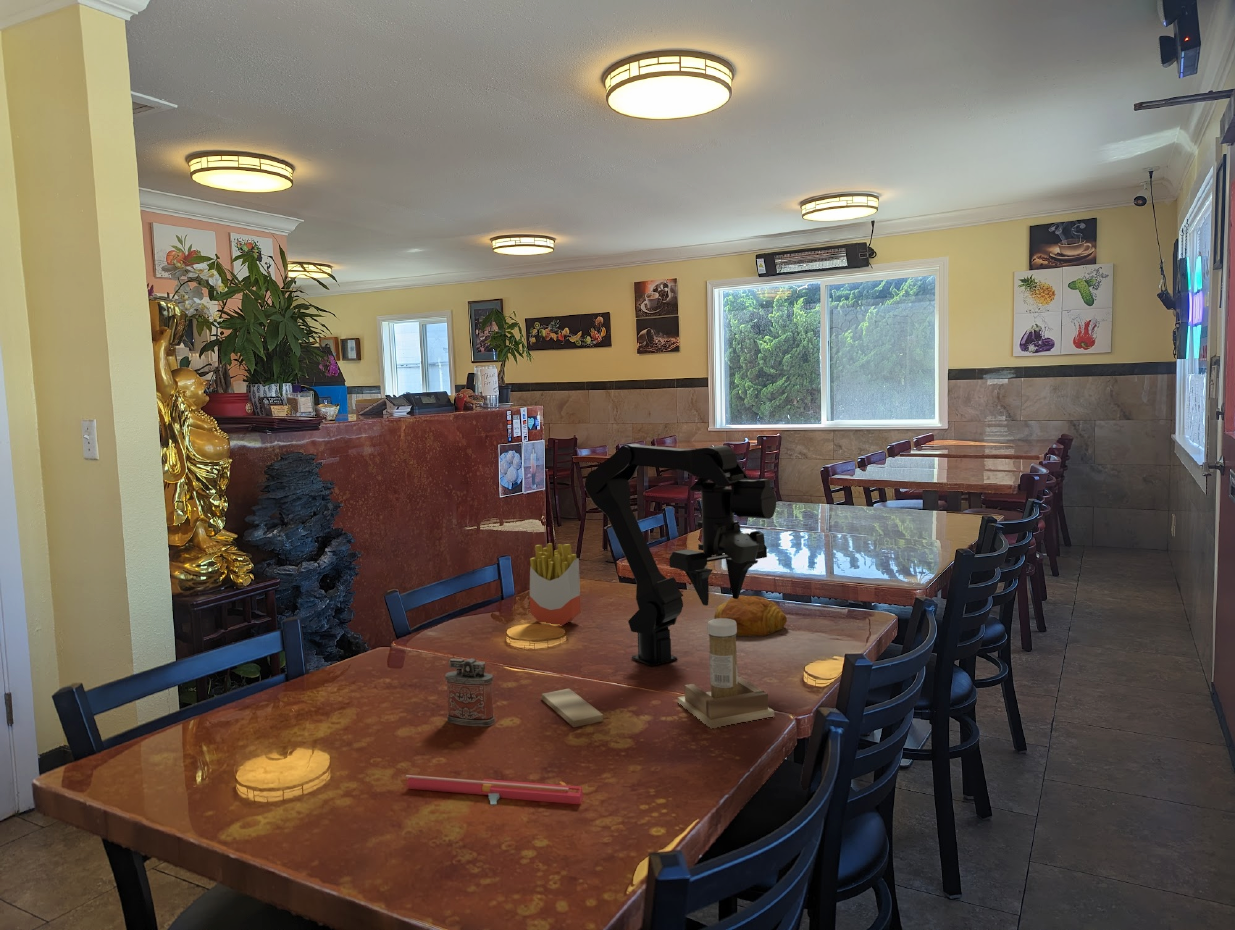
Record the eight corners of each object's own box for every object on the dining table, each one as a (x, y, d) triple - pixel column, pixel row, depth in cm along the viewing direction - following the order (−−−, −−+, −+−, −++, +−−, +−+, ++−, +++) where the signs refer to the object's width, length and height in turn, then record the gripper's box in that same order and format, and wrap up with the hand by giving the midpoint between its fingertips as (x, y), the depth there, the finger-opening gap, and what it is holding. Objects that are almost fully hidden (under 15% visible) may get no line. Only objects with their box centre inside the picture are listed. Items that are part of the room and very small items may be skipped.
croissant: (733, 626, 191) (729, 591, 191) (796, 626, 181) (791, 589, 181) (700, 640, 179) (695, 603, 179) (766, 640, 170) (760, 601, 170)
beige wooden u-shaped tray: (677, 703, 137) (677, 682, 137) (737, 692, 141) (736, 672, 141) (711, 729, 126) (710, 706, 126) (774, 717, 130) (774, 695, 130)
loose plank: (542, 702, 142) (541, 693, 141) (569, 696, 144) (569, 688, 144) (573, 730, 129) (573, 721, 129) (603, 724, 131) (602, 714, 131)
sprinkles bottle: (743, 701, 134) (741, 619, 133) (730, 710, 131) (728, 626, 130) (718, 696, 137) (715, 616, 136) (704, 705, 133) (702, 622, 132)
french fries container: (571, 628, 185) (568, 547, 184) (529, 623, 190) (526, 545, 189) (581, 622, 189) (578, 544, 188) (540, 618, 194) (537, 542, 193)
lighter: (498, 719, 133) (495, 658, 132) (488, 727, 130) (485, 664, 129) (454, 714, 136) (451, 654, 135) (443, 722, 132) (440, 661, 132)
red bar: (577, 819, 103) (586, 791, 107) (575, 806, 102) (584, 778, 106) (399, 803, 108) (415, 777, 113) (396, 791, 108) (412, 765, 112)
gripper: (707, 526, 138) (710, 619, 139) (787, 514, 148) (790, 601, 149) (666, 520, 147) (669, 607, 148) (744, 509, 158) (747, 591, 159)
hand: (720, 601), depth 151 cm, fingers open, 7 cm apart
